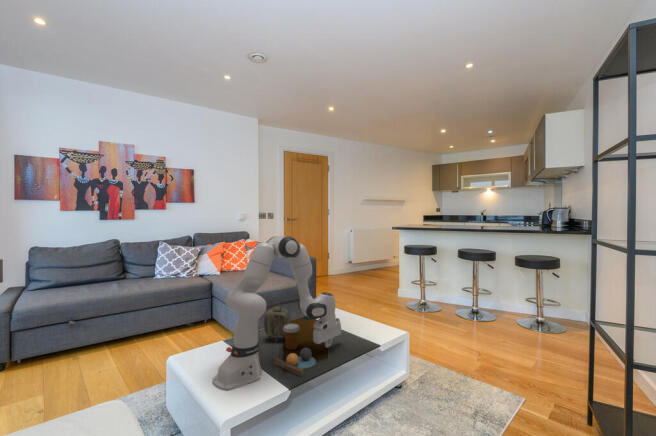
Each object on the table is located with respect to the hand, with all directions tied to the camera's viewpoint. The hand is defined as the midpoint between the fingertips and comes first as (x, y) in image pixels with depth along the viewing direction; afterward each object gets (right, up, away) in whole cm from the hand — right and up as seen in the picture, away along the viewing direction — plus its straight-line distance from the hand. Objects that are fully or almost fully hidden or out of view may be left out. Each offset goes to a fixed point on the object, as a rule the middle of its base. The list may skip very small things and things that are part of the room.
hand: (328, 346), depth 174 cm
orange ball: (-18, +1, -18) cm, 26 cm away
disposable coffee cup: (-21, -2, +4) cm, 21 cm away
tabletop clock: (-31, -2, +14) cm, 34 cm away
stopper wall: (-20, -2, -22) cm, 30 cm away
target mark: (-13, -2, -15) cm, 20 cm away
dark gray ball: (-12, +1, -12) cm, 17 cm away
